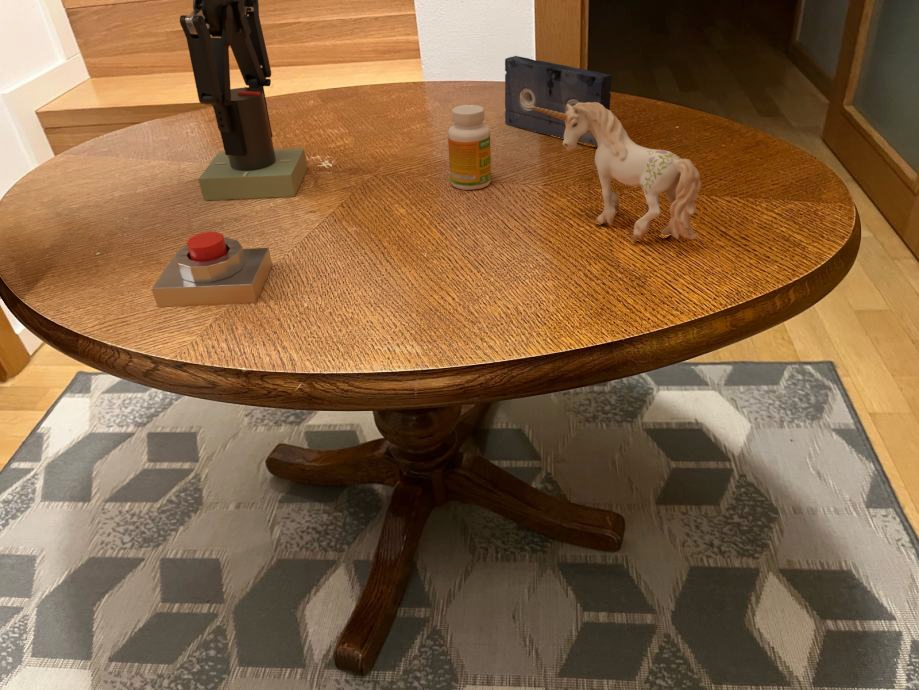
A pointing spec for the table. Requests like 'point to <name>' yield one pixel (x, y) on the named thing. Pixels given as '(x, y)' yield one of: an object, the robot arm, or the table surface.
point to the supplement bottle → (469, 148)
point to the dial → (253, 130)
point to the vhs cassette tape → (550, 94)
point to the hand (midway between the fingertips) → (249, 145)
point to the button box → (214, 278)
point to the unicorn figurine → (633, 169)
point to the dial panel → (254, 177)
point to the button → (206, 246)
